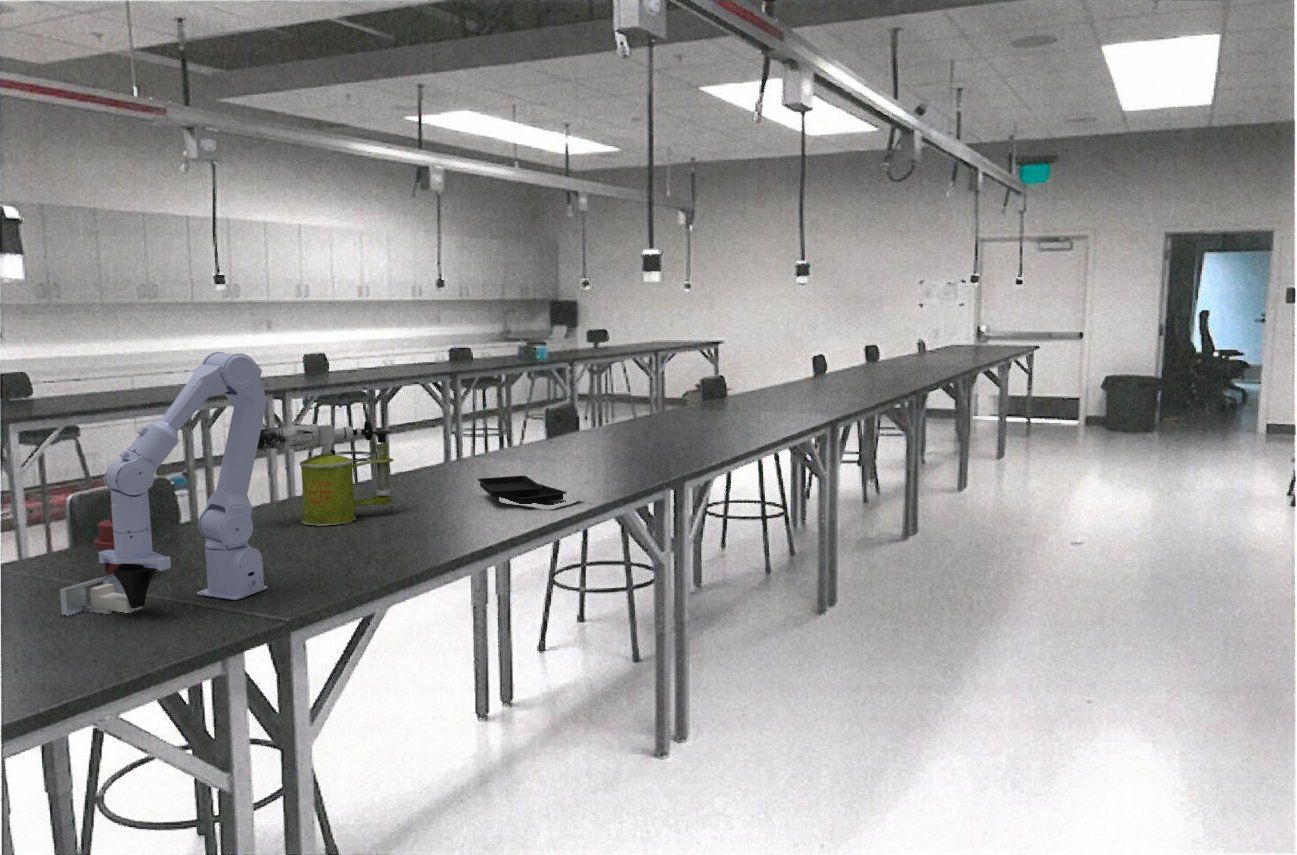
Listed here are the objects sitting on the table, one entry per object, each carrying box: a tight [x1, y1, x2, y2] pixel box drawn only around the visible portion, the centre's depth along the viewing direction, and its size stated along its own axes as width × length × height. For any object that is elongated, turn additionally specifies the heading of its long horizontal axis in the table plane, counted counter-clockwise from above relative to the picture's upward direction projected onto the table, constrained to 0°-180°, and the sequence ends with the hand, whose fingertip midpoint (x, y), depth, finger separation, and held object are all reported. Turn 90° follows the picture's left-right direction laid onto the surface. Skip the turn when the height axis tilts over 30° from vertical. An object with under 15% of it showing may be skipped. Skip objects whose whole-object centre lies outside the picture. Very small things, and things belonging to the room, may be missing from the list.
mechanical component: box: [93, 516, 154, 575], centre depth 190 cm, size 12×10×10 cm
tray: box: [477, 475, 568, 505], centre depth 262 cm, size 30×23×5 cm
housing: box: [59, 574, 126, 617], centre depth 172 cm, size 7×12×5 cm, turn 158°
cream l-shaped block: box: [89, 583, 143, 614], centre depth 172 cm, size 10×3×4 cm, turn 65°
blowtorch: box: [257, 420, 394, 526], centre depth 239 cm, size 13×33×25 cm, turn 122°
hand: (137, 606), depth 170 cm, fingers closed
